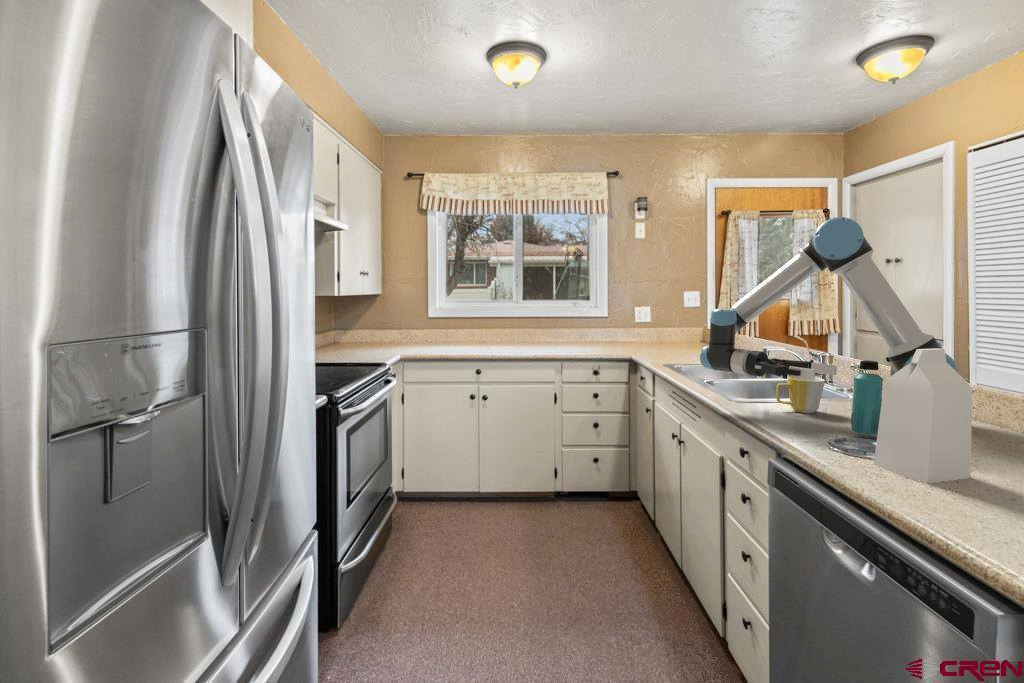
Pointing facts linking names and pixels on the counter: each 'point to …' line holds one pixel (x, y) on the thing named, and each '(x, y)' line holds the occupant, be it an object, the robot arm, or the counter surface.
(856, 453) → the grey round plate
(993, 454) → the counter surface
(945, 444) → the milk
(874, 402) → the beverage bottle
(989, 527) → the counter surface
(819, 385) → the mug
